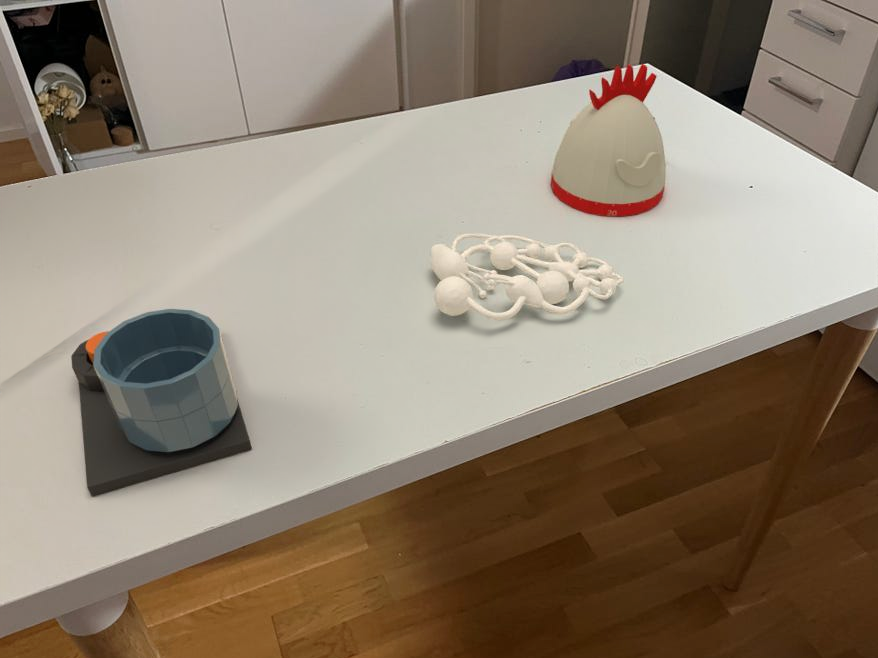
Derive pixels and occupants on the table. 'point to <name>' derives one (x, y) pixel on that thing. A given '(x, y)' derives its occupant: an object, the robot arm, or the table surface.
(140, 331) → the bowl
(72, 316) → the table surface
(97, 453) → the scale
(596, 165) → the kitchen timer
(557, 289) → the tangled rod sculpture
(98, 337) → the tare button
